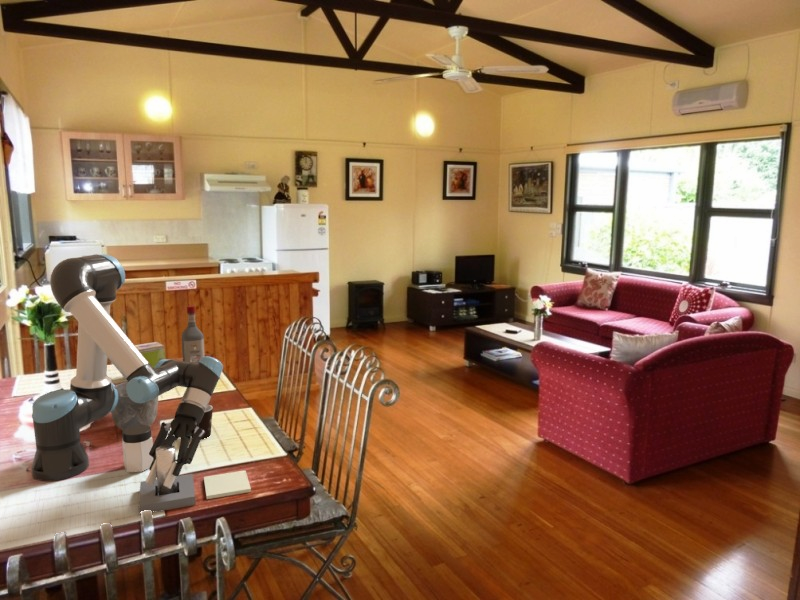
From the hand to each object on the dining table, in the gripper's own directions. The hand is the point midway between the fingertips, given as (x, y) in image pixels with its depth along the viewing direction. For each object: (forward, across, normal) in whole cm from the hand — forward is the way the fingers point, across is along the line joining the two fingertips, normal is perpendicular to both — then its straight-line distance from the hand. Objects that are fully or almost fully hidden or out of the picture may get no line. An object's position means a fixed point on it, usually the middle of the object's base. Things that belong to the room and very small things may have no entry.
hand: (158, 485), depth 160 cm
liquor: (-74, +68, -84) cm, 131 cm away
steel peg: (0, 0, -6) cm, 6 cm away
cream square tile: (-6, -12, -14) cm, 19 cm away
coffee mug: (-27, +16, -35) cm, 48 cm away
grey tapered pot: (-26, +43, -34) cm, 61 cm away
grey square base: (+1, 0, -6) cm, 7 cm away
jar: (-8, +20, -16) cm, 27 cm away
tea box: (-61, +80, -70) cm, 122 cm away
